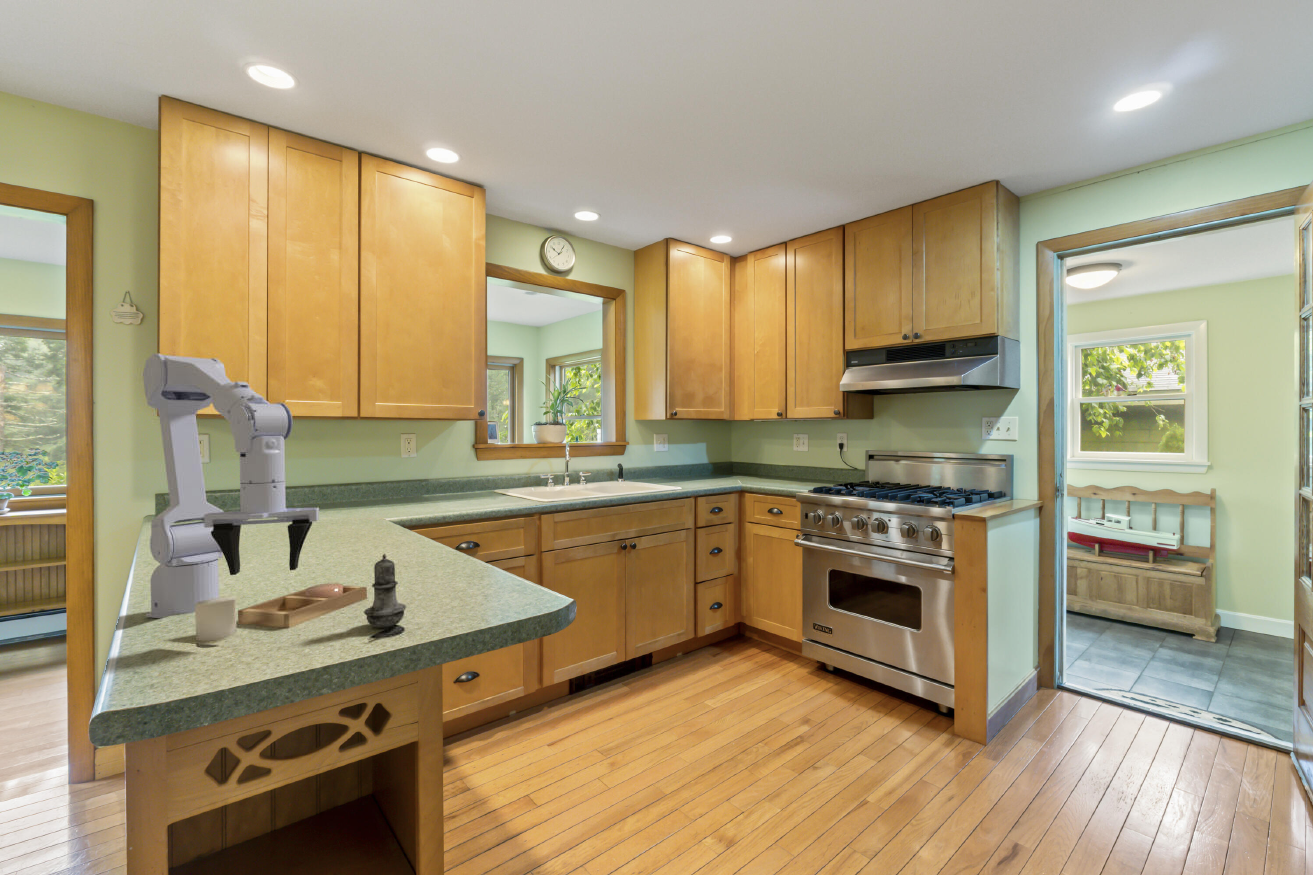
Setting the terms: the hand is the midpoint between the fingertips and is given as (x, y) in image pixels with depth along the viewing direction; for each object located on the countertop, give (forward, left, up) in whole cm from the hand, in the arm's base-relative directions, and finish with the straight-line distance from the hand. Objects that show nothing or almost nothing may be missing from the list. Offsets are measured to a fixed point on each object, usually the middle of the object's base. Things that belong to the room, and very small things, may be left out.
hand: (264, 571), depth 90 cm
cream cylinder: (-4, -4, -10) cm, 11 cm away
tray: (-1, +9, -10) cm, 13 cm away
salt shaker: (+18, +5, -10) cm, 21 cm away
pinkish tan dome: (-1, +12, -9) cm, 15 cm away
